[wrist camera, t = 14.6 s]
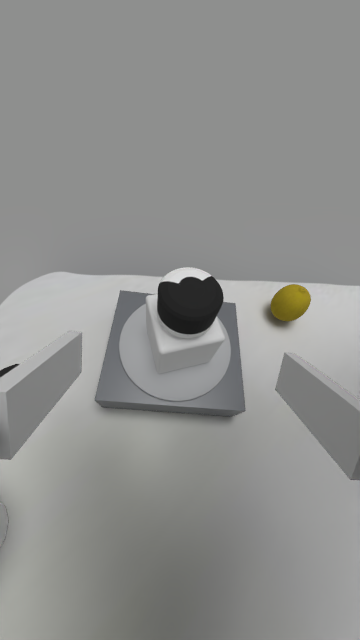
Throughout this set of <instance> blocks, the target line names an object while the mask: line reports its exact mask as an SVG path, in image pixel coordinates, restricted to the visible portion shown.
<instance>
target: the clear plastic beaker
mask: <svg viewBox="0 0 360 640" xmlns="http://www.w3.org/2000/svg"><path fill="white" fill-rule="evenodd" d="M8 521H9V520H8V516H7V512H6V507H5V506H4V505H3V504H2V503H1V502H0V547H1V545H2V543H3V542H4V540H5V536H6V531H7V526H8Z"/></svg>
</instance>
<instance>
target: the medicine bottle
mask: <svg viewBox="0 0 360 640" xmlns="http://www.w3.org/2000/svg"><path fill="white" fill-rule="evenodd" d="M222 304H223V292H222V289H221V287H220V285H219V283H218V282H217V281H216V280H215V279H214V278H213V277H212V276H211V275H209V274H208V273H207V272H205V271H202V270H200V269H196V268H180V269H176V270H174V271H171V272H169V273H168V274H167V275H165V276H164V277H163V279H162V280H161V282H160V284H159V287H158V294H154V295H148V296H147V297H146V327H147V332H148V336H149V340H150V345H151V349H152V353H153V357H154V362H155V366H156V370H157V373H159V374H161V373H165V372H169V371H173V370H178V369H182V368H186V367H190V366H194V365H198V364H203V363H207V362H210V361H211V359H212V358H213V356H214V355H215V353H216V352H217V350H218V349H219V348H220V346H221V345H222V343H223V342H224V340H225V336H224V333H223V331H222V328H221V326H220V323H219V321H218V319H217V314H218V312H219V311H220V309H221V306H222Z"/></svg>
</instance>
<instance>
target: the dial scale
mask: <svg viewBox="0 0 360 640" xmlns="http://www.w3.org/2000/svg"><path fill="white" fill-rule="evenodd" d="M148 295H154V294H148V293H139V292H130V291H121V290H120V294H119V298H118V303H117V307H116V311H115V315H114V320H113V324H112V328H111V332H110V337H109V341H108V345H107V349H106V354H105V358H104V362H103V366H102V371H101V375H100V379H99V384H98V388H97V392H96V396H95V401H96V402H97V403H98V404H99V405H100V406H102V407H106V408H120V409H134V410H148V411H162V412H176V413H190V414H204V415H218V416H235V415H237V414H240V413H242V412H245V401H244V390H243V380H242V369H241V358H240V348H239V337H238V327H237V316H236V305H235V303H227V302H223V304H222V306H221V309H220V311H219V312H218V314H217V319H218V321H219V323H220V326H221V328H222V331H223V333H224V336H225V340H224V342H223V343H222V345H221V346H220V348H219V349H218V350H217V352H216V353H215V355H214V356H213V358H212V359H211V361H210V362H207V363H203V364H198V365H194V366H190V367H186V368H182V369H178V370H173V371H169V372H165V373H161V374H159V373H157V370H156V366H155V362H154V357H153V353H152V349H151V345H150V340H149V336H148V332H147V327H146V297H147V296H148Z"/></svg>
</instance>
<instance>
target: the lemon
mask: <svg viewBox="0 0 360 640" xmlns="http://www.w3.org/2000/svg"><path fill="white" fill-rule="evenodd" d="M310 301H311V298H310V294H309V292H308V291H307V289H306V288H304V287H302V286H300V285H295V284H293V285H288V286H285V287H283V288H282V289H281V290H279V291H278V292H277V293H276V294H275V295H274V297H273V299H272V301H271V311H272V313H273V315H274V316H275V317H276V318H278V319H279V320H282V321H292V320H295V319H297V318H299V317H300V316H302V315H303V314H304V313H305V312H306V310H307V309H308V307H309V305H310Z"/></svg>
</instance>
